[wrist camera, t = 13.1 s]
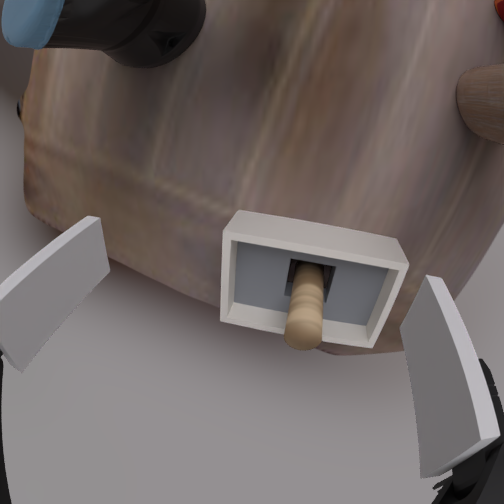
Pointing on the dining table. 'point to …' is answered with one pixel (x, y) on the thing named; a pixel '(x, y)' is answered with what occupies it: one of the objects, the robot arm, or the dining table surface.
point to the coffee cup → (500, 8)
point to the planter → (483, 101)
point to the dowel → (305, 307)
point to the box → (312, 250)
